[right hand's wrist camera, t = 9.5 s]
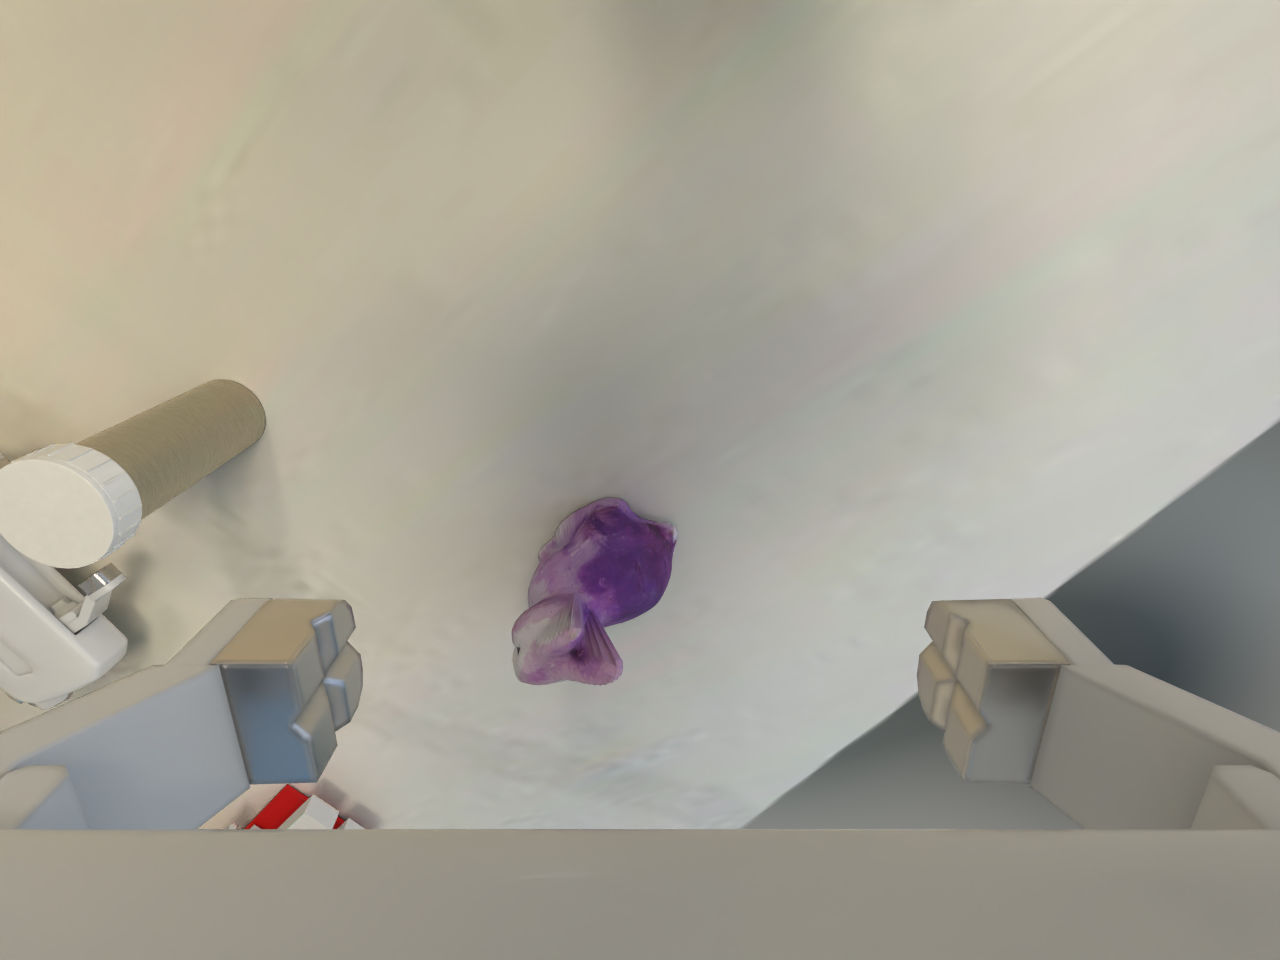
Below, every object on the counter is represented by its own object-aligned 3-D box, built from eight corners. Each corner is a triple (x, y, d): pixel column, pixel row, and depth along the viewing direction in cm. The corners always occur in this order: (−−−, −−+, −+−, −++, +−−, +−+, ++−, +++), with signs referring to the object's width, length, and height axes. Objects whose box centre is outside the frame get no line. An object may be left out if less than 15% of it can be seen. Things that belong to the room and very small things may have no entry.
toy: (380, 919, 56) (139, 1141, 60) (415, 797, 69) (214, 986, 72) (247, 835, 52) (1, 1076, 56) (310, 723, 65) (105, 926, 69)
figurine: (520, 591, 56) (481, 727, 42) (560, 475, 52) (532, 582, 38) (636, 626, 57) (635, 770, 43) (683, 516, 53) (698, 633, 39)
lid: (160, 482, 37) (131, 501, 35) (121, 567, 39) (91, 590, 37) (43, 419, 36) (5, 435, 34) (8, 510, 38) (-30, 530, 35)
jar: (277, 405, 50) (124, 499, 35) (249, 460, 52) (91, 573, 37) (208, 365, 49) (21, 445, 34) (182, 423, 51) (-9, 524, 36)
